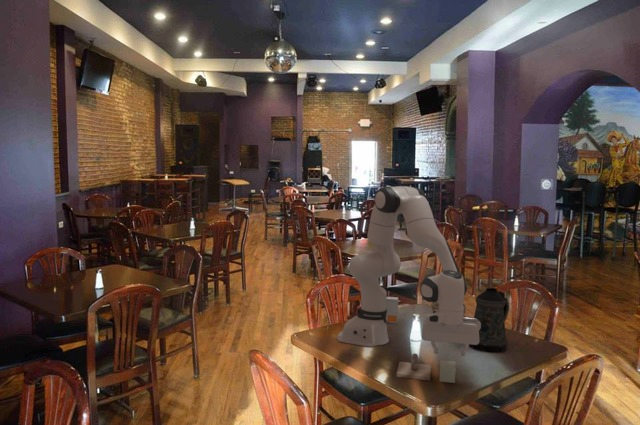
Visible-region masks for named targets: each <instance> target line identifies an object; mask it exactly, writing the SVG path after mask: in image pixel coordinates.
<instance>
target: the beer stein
mask: <svg viewBox="0 0 640 425" xmlns="http://www.w3.org/2000/svg"><path fill="white" fill-rule="evenodd" d="M505 296H506V295H505V293H504V292H503V291H500V290H498V289H497V288H494V287H486V289H485V290H484V291H483V292H482V293H480V294H478V295H477V296H476V297H475V303H476V306H475V309H474V310H475V311H474V316H473V318H476V319H477V320H479V321H480V322H481V328H480V330H479V343H478V344H477V345H472V344H469V347H470V348H471V349H473V350H476V351H479V352H483V353H492V354H493V353H494V354H495V353H496V354H497V353H503V352H504V351H506V349H507V346H508V344H509V343H508V338H507V335H506V324H505V323H506V321H507V320H506V319H507V318H508V314H509V311H510V303H509V300H508V298H507V297H505Z"/></svg>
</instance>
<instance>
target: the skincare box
mask: <svg viewBox="0 0 640 425" xmlns="http://www.w3.org/2000/svg"><path fill="white" fill-rule="evenodd" d="M398 307H399V297H398V296H397V297H396V296H395V297H394V296H387V304H386V309H387V322H386V323H391V324H398V313H399V312H398V311H399V308H398Z"/></svg>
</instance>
